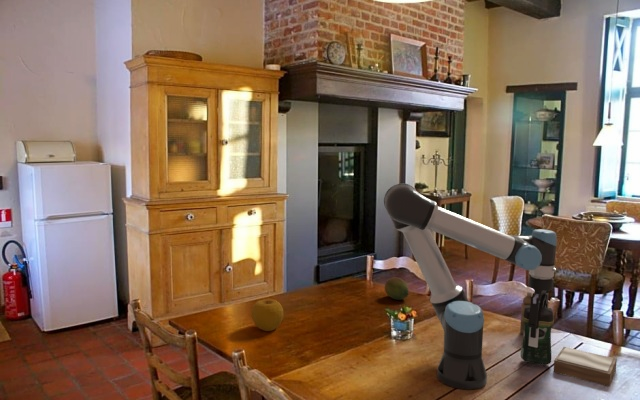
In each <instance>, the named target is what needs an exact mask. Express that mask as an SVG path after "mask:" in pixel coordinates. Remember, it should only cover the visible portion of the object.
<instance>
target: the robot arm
mask: <svg viewBox="0 0 640 400" xmlns="http://www.w3.org/2000/svg"><path fill="white" fill-rule="evenodd" d="M383 205H384V208H385V210H386V212H387V214H388V216H389V218H390V219H391V222H392V224H393V226H394V228H395V229H396V230H397V231H399V232H401V233H402V234H403V236H404V238H405V240H406V243H407V244H408V247H409V249H410V251H411V253H412V255H413V257H414V259H415V261H416V263H417V265H418V268H419V270H420V272H421V274H422V276H423V279H424V281H425V282H426V284H427V287H428V289H429V291H430V293H431V296H430V299H429V301H430V303H431V305H432V307H433V310H434V311H435V313H436V316H437V318H438V320H439V321H440V325H441V327H442V328H443V352H442V355H441V358H440V361H439V364H438V365H437V370H436V377H437V379H438V380H439V381H440V382H441V383H442V384H444V385H446V386H448V387H451V388H453V389H454V388H455V389H458V390H459V389H460V390H478V389H481V388H483V387H484V386H486V384H487V377H488V375H487V374H488V373H487V371H486V367H485V364H484V360H483V340H484V337H483V336H484V323H485V318H484V311H483V309H482V308H481V307H480V306H479V305H478V304H474V303H473V302H470V301H469V298H468V297H467V295H466V292H465V291H464V288H463V286H462V285H459V284H457V283H456V281H455V280H454V278H453V276H452V274H451V271H450V268H449V267H448V265H447V262H446V260H445V259H444V257H443V254H442V253H441V250H440V248H439V246H438V244H437V242H436V240H435V238H434V235H433V234H432V232H435V233H438V234H440V235H442V236H445V237H447V238H450V239H452V240H455V241H457V242H459V243H462V244H464V245H467V246H469V247H472V248H475V249H477V250H478V251H482V252H485V253H487V254H490V255H492V256H494V257H496V258H499V259H502V260H504V261H506V262H508V263H510V264H513V265H515V266H517V267H518V268H520V269H523V270H525V271H529V272H528V274H529V276H528V288H531V289H533V290H534V291H533V292H532V297H531V305H530V314H529V322H528V325H527V327H530V331H529V345H528V346H532V347H536V348H537V347H538V336H539V328H538V325H539V319H540V313H541V309H542V308H543V307H545V308H549V294H550V293H549V292H550V291H552V290H553V289H554V276H555V272H557V268H555V266H556V265H555V264H556V253H557V246H558V243H557V242H558V241H557V239H558V238H557V233H556V232H555V231H553V230H549V229H540V228H539V229H533V230H532V231H531V232H532V233H531V235H515V234H514V235H513V234H506V233H504V232H501V231H499V230H497V229H494V228H492V227H489V226H487V225H485V224H482V223H479V222H477V221H475V220H473V219H469V218H467V217H465V216H462V215H460V214H457V213H456V212H453V211H450V210H447V209H445V208H443V207H441V206H438V204H437V202H436V201H435V200H432V199H430V198H428V197H426V196H425V195H422V194H421V193H420V192H418V191H417V190H416V188H415V187H413V185H410V184H407V183H403V182H402V183H397V184H393V185H392V186H391V187H389V188H388V189H387V191H386V192H385V194H384V197H383Z"/></svg>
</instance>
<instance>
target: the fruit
mask: <svg viewBox="0 0 640 400" xmlns="http://www.w3.org/2000/svg"><path fill="white" fill-rule="evenodd" d="M384 291H385V293H386V295H387V296H388V297H390V298H391V299H394V300H396V301H401V300H404V299H406V298H407V297H408V296H409V286H408V284H407V282H406V281H405V280H404V279H402V278H400V277H398V276H397V277H396V276H393V277H390V278H389V279H387V280H386V282H385V284H384Z"/></svg>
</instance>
